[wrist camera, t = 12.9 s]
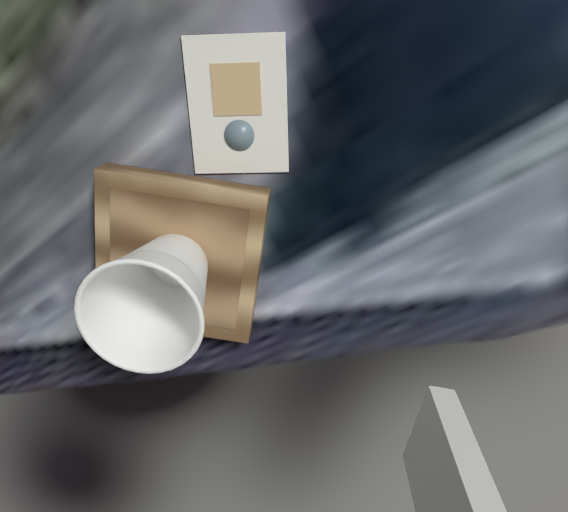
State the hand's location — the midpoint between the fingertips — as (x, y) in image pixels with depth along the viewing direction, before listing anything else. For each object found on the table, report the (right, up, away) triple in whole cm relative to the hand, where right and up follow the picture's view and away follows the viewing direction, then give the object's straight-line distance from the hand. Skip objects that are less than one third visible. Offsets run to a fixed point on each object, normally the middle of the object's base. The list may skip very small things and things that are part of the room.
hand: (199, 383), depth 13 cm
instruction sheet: (-2, +17, +28) cm, 33 cm away
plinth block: (-8, +4, +34) cm, 35 cm away
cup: (-8, +3, +31) cm, 33 cm away
